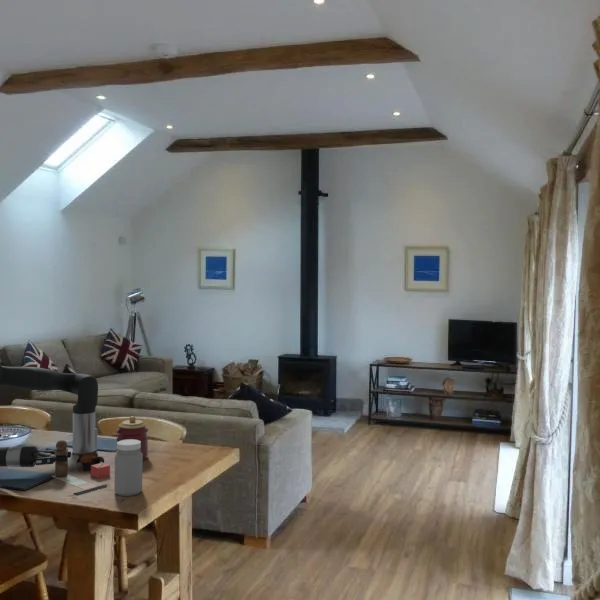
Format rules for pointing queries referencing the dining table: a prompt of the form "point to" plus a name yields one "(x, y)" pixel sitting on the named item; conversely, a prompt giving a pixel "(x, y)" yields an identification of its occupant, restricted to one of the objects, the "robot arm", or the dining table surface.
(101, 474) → the red die
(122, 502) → the dining table surface
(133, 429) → the canister
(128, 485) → the jar
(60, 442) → the walnut pawn
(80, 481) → the game board
